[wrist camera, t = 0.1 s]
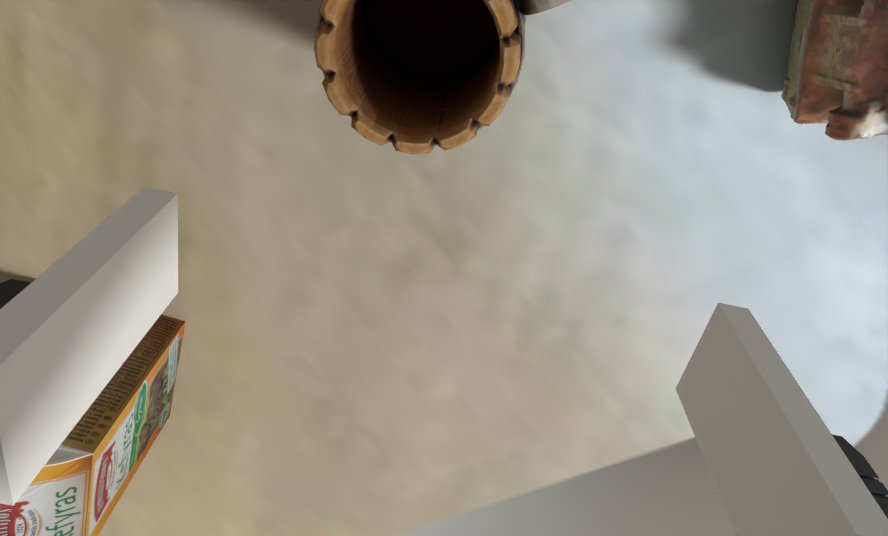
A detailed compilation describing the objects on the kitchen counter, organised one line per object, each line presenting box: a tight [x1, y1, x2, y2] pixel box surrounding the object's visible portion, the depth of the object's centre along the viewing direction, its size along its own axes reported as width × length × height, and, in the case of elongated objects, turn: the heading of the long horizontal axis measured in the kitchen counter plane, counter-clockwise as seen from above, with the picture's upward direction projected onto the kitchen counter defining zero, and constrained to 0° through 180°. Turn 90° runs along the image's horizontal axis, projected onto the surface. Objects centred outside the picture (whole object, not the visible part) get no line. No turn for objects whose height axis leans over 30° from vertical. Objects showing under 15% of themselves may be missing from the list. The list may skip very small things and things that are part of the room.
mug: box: [314, 0, 571, 154], centre depth 31 cm, size 16×11×15 cm
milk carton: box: [0, 315, 185, 536], centre depth 45 cm, size 10×11×19 cm
